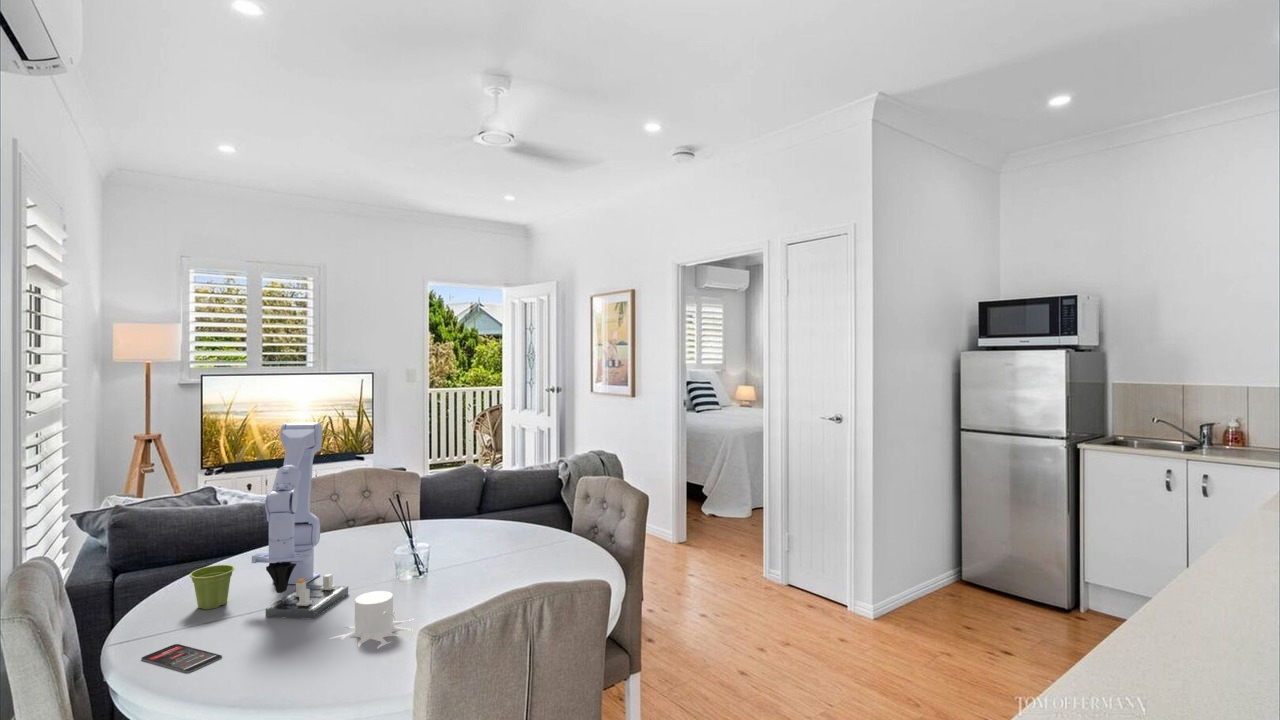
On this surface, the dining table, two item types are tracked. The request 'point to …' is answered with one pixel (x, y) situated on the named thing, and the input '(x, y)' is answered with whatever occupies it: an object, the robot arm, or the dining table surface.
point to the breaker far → (327, 582)
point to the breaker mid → (300, 586)
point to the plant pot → (212, 585)
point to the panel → (319, 604)
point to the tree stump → (374, 618)
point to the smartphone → (181, 658)
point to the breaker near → (304, 597)
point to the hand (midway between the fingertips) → (281, 591)
